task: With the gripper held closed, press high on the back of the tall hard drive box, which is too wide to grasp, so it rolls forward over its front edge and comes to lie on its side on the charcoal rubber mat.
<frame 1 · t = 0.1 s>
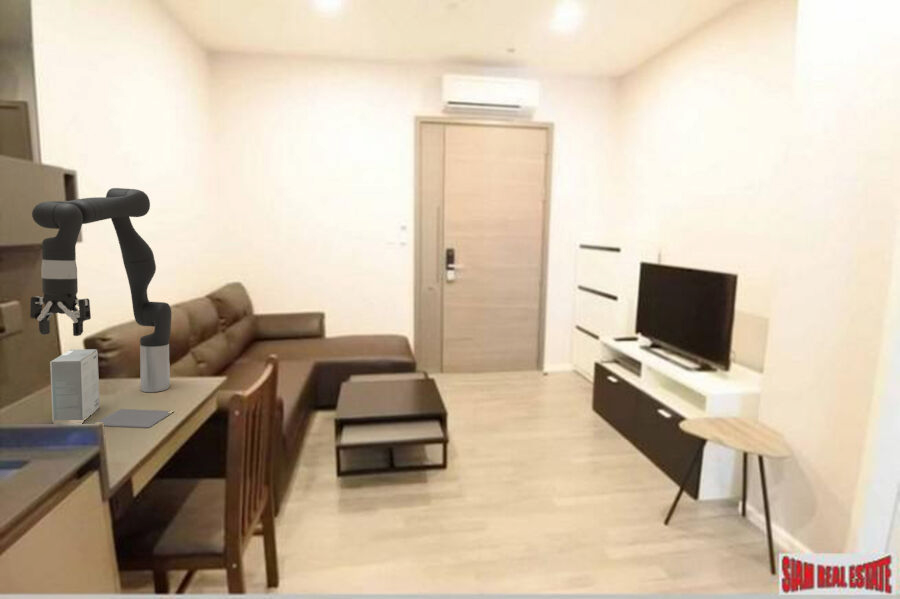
hand: (61, 334, 130), 29 cm above the counter, tool pointing down, fingers open, 8 cm apart
hard drive box: (77, 417, 147), on the counter
rubber mat: (134, 418, 148), on the counter
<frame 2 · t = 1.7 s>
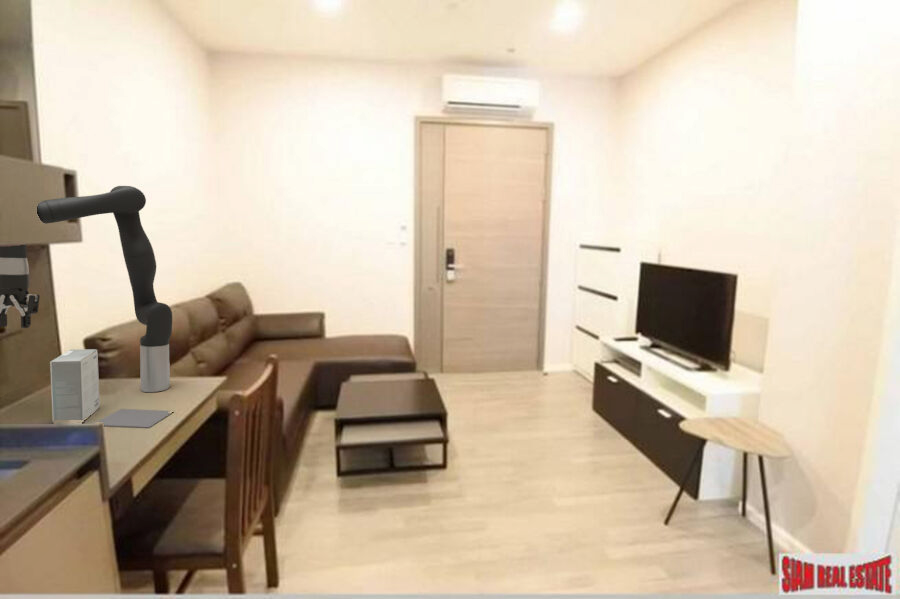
hand: (14, 327, 143), 28 cm above the counter, tool pointing down, fingers open, 6 cm apart
nothing on the counter moved.
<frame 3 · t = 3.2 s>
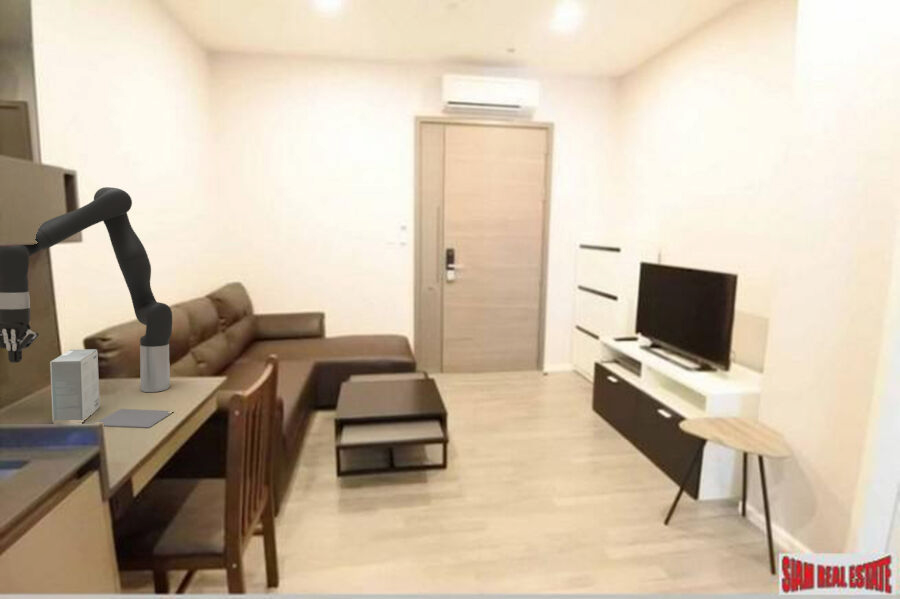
hand: (15, 362, 144), 17 cm above the counter, tool pointing down, fingers closed
nothing on the counter moved.
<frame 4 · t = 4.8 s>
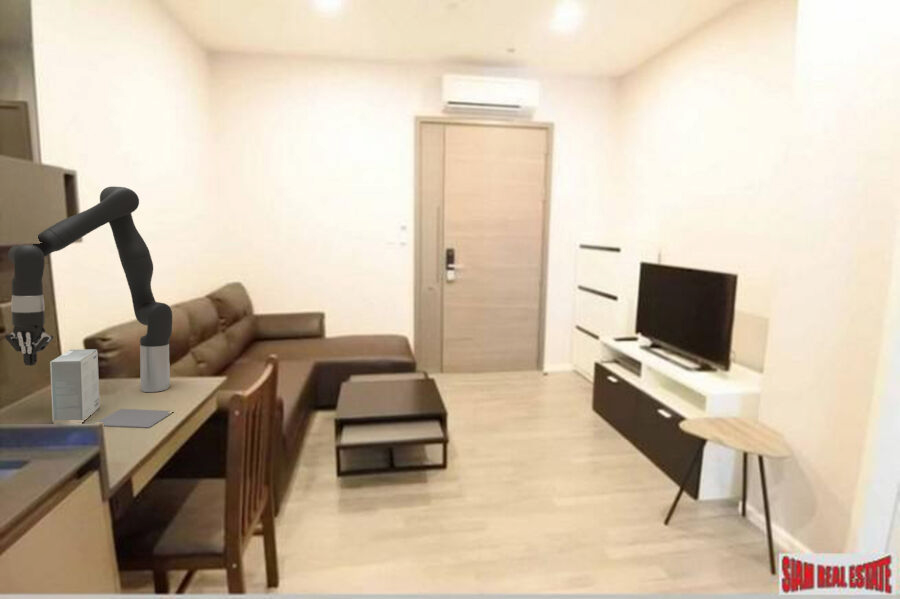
hand: (30, 364, 145), 16 cm above the counter, tool pointing down, fingers closed
nothing on the counter moved.
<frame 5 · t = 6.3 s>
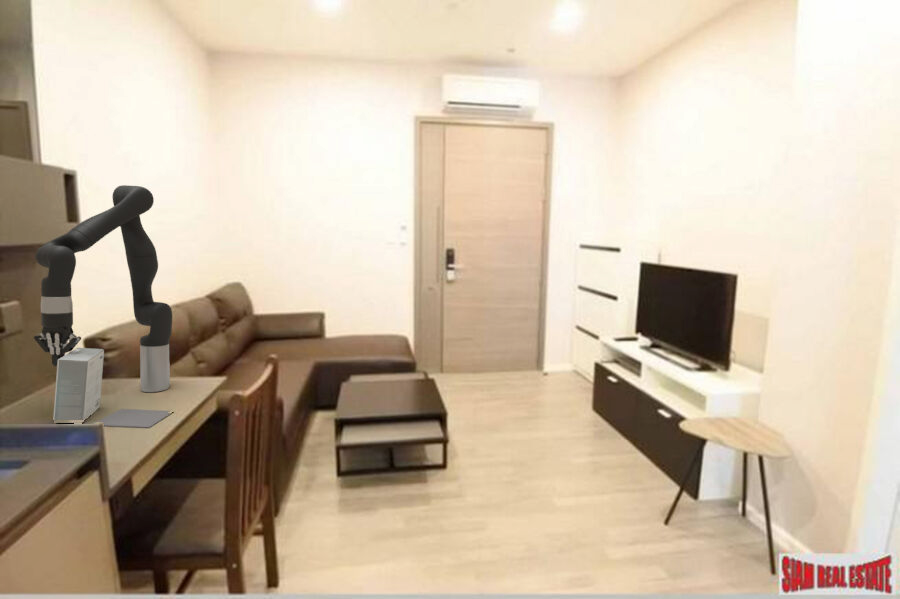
hand: (58, 365, 145), 16 cm above the counter, tool pointing down, fingers closed
hard drive box: (77, 416, 147), on the counter, touching gripper, hand
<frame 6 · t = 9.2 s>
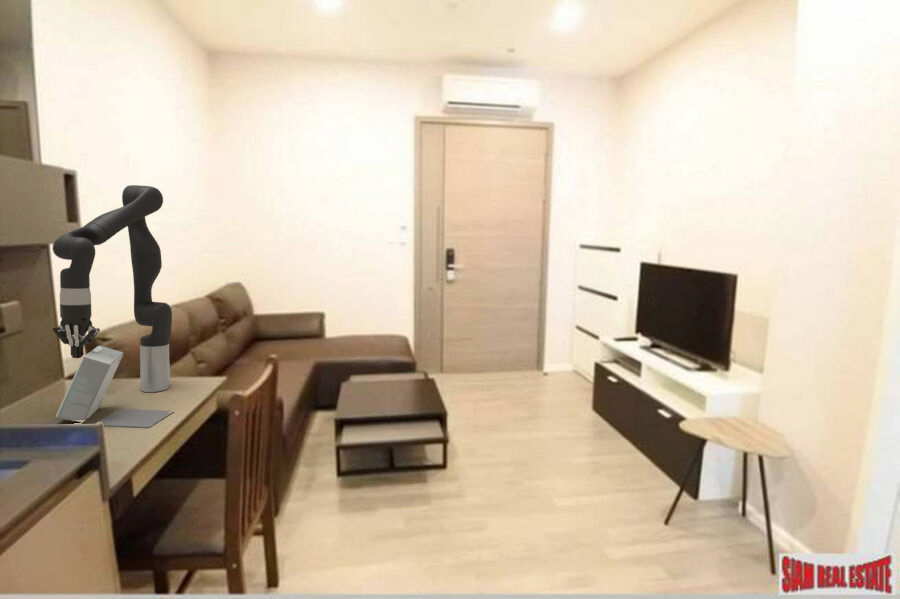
hand: (77, 357, 145), 19 cm above the counter, tool pointing down, fingers closed
hard drive box: (77, 412, 147), point 1 cm above the counter
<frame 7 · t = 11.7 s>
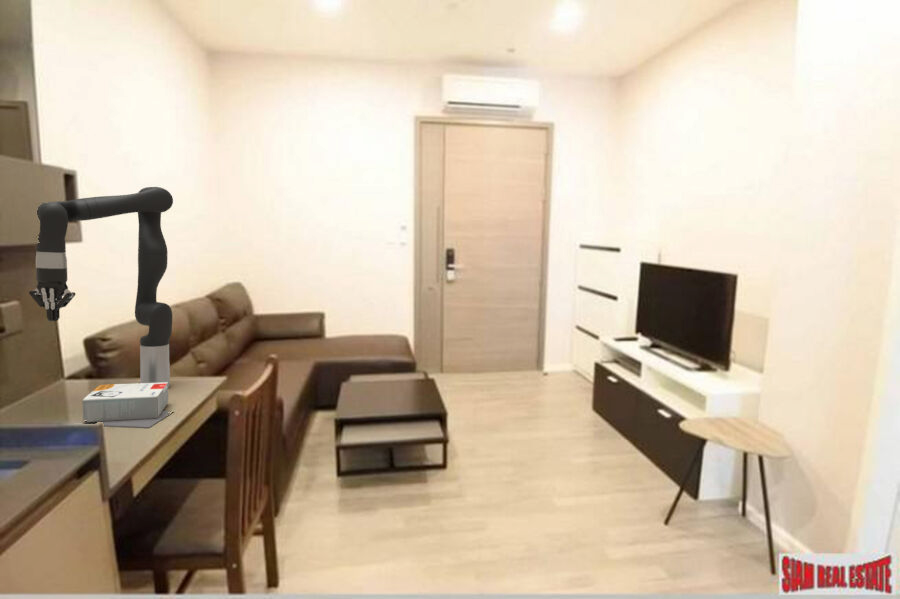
hand: (53, 320, 150), 29 cm above the counter, tool pointing down, fingers closed
hard drive box: (90, 402, 148), point 4 cm above the counter, touching rubber mat
at the end: hard drive box tilted 90°; hard drive box inside the target area (5.7 cm from its centre), point 4.2 cm above the counter; hard drive box touching rubber mat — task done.
